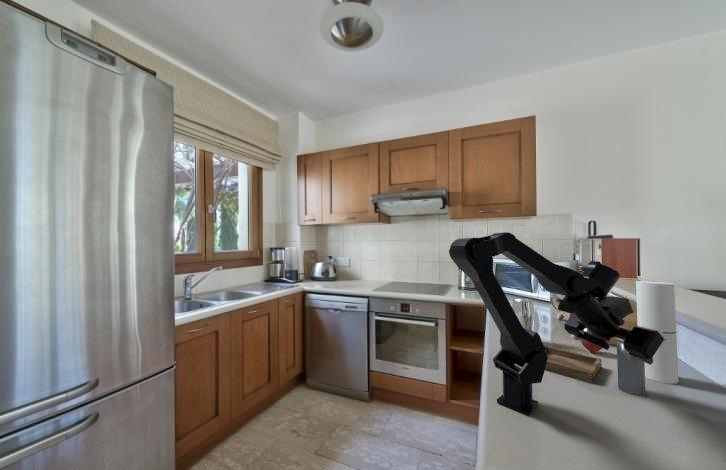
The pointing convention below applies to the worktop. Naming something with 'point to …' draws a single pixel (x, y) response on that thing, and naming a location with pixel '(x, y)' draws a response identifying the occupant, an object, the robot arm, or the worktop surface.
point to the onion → (590, 346)
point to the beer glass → (524, 312)
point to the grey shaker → (630, 371)
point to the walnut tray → (572, 364)
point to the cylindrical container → (659, 327)
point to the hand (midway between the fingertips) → (628, 355)
